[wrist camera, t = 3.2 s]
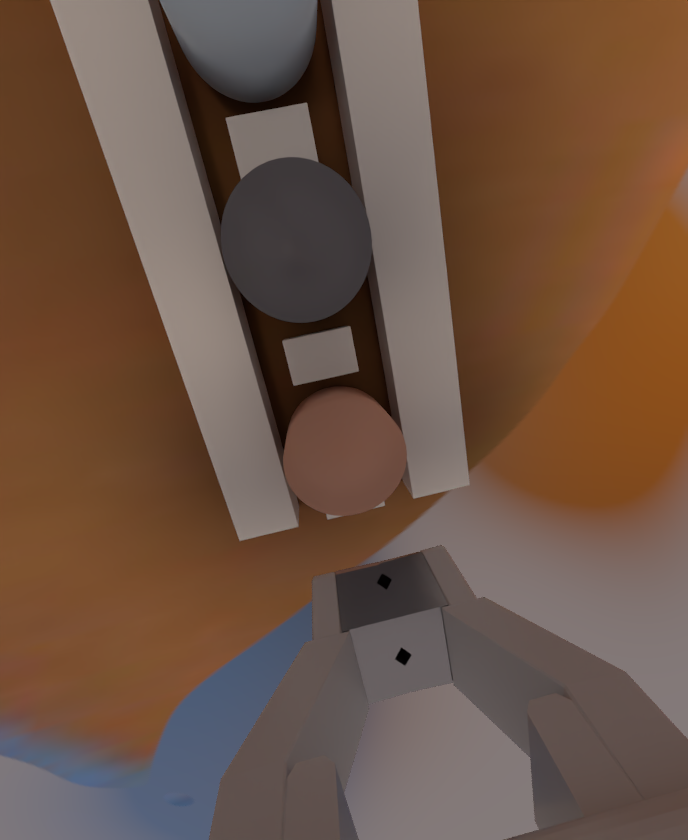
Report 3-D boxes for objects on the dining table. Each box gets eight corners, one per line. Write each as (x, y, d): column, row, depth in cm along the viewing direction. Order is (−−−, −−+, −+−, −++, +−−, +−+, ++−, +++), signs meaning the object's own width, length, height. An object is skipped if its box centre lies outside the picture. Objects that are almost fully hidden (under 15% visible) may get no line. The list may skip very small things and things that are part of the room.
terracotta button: (275, 399, 16) (268, 416, 13) (380, 375, 16) (396, 387, 13) (301, 493, 17) (299, 528, 14) (396, 470, 17) (414, 499, 14)
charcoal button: (222, 205, 13) (199, 173, 10) (345, 181, 14) (356, 143, 11) (257, 333, 15) (245, 336, 12) (368, 309, 15) (383, 306, 12)
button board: (50, -65, 12) (1, -139, 10) (382, -117, 12) (396, -197, 10) (246, 518, 19) (239, 540, 17) (453, 469, 19) (469, 485, 17)
